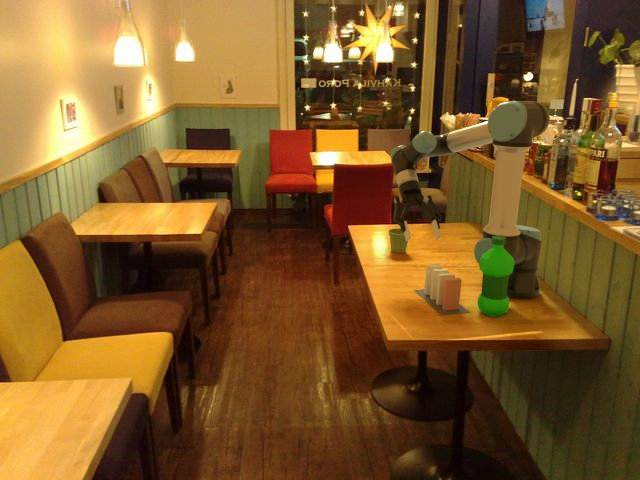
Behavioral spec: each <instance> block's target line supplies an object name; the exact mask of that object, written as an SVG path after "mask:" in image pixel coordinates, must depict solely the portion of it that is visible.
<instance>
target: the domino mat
mask: <svg viewBox="0 0 640 480" xmlns="http://www.w3.org/2000/svg"><path fill="white" fill-rule="evenodd" d="M424 290H425V288H424V289H413V291H414V293H416V294H417V295H418V296H419V297H420V298H422V300H423V301H425V302H426V303H427V304H428V305H429V306H431V307H432V308H433V309H434V310H435V311H436V312H437V313H438V314H439V315H440V316H449V315H453V316H454V315H462V314H463V315H464V314H471V313H472V312H471V311H469V310H468V309H467V308H466V307H464V306H463V305H462V304H461V303H459V309H455V310H443V309H442V305H437V304H436V300H432V299H430V295H426V294H425V293H424Z"/></svg>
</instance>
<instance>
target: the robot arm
mask: <svg viewBox="0 0 640 480" xmlns="http://www.w3.org/2000/svg"><path fill="white" fill-rule="evenodd" d="M550 120H551V118H550V112H549V110H548V108H547V107H546V106H545V105H544V104H542V103H541V102H539V101H536V100H517V101H516V100H509V101H506V102H505V101H504V102H502V103H499V104H497V106H495V107H494V108H493V109H492V110H491V112H490V114H489V116H488V119H487V120H486V121H483V122H480V123H477V124H474V125H471V126H467V127H464V128H461V129H457V130H453V131H450V132H447V133H444V134H438V135H434V133H432V132H430V131H427V130H423V131H420V133H419V132H418V134H416V135H415V136H414V138H413V139H411V141H410V142H408V144H406V145H398V146H397V147H394V148H393V149H392V150H391V151H390V155H389V156H390V160H391V164H392V168H393V171H394V175H395V178H396V183H397V187H398V191H399V194H400V196H398V195H396V196H395V197H394V200H393V203H394V211H393V223H394V224H397V226H399V227H400V228H399V229H401V231H402V232H404V235H405V238H406V241H408V242H409V241H410V239H411V238H412V237H411V234H410V232H409V231H410V229H409V226H408V220H405V219H406V217H407V214H408V212H409V209H418V210H419V211H422V213H423V214H424V215H425V216H426V217H427V218H428V219H429V220H430V221H431V223H430V225H431V228H432V232H433V235H434V238H435V240H437V241H438V240H439V238H440V237H441V233H440V228H441V225H440V221H441V220H442V219H443V214H442V213H441V212H440V210H439V209H438V207H437V206H436V204H435V202H434V201H433V198H432V195H430V194H429V195H427V196H424V195H423V194H422V193H423V192H422V188H421V185H420V182H419V178H418V175H417V171H416V167H415V166H417V164H419V163H420V162H421V161H422V160H423V159H425V158H432V157H433V158H434V157H439V156H451V155H454V154H455V153H457V152H461V151H466V150H470V149H473V148H478V147H481V146H485V145H489V144H492V146H493V147H494V149H495V150H496V153H495V154H496V155H495V162H494V163H495V164H494V172H493V181H492V189H491V201H490V208H489V209H490V210H489V219H488V224H486V226H484V227H483V229H482V236H481V237H482V238H480V239H479V240H478V241H477V242H476V243H475V245H474V249H473V254H474V258H475V259H474V260H475V261H476V263H478V265H479V264H480V258H481V256H482V254H484V253H485V252H487V251H488V250H490V249H491V248H493V244H492V236H504V237H506V245H504V249H505V250H506V251H507V252H508V253H509V254H510V255H511V256H512V257H513V259H514V269H513V272H512V273H511V274H510V275H509V278H508V288H507V296H508V298H514V299H519V300H520V299H521V300H522V299H523V300H525V299H526V300H527V299H528V300H529V299H530V300H531V299H535V298H538V297H539V296H540V294H541V293H540V292H541V286H540V280H539V276H538V275H539V274H538V269H539V268H538V267H539V262H540V261H539V260H540V254H541V246H542V242H543V240H542V239H543V237H542V236H543V234H542V231H541V230H539V228H535V227H531V226H526V225H521V224H517V222H518V217H519V215H518V213H519V209H520V208H519V207H520V206H519V205H520V198H521V193H522V182H523V175H524V167H525V158H526V152H527V151H528V150H530V149H531V148H532V143H533V138H536V137H540V136H541V135H542V134H544V133H545V131H546V130H547V129H548V126H549V124H550ZM401 203H403V204H404V207H403V210H402V213H401V215H400V207H401Z"/></svg>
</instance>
